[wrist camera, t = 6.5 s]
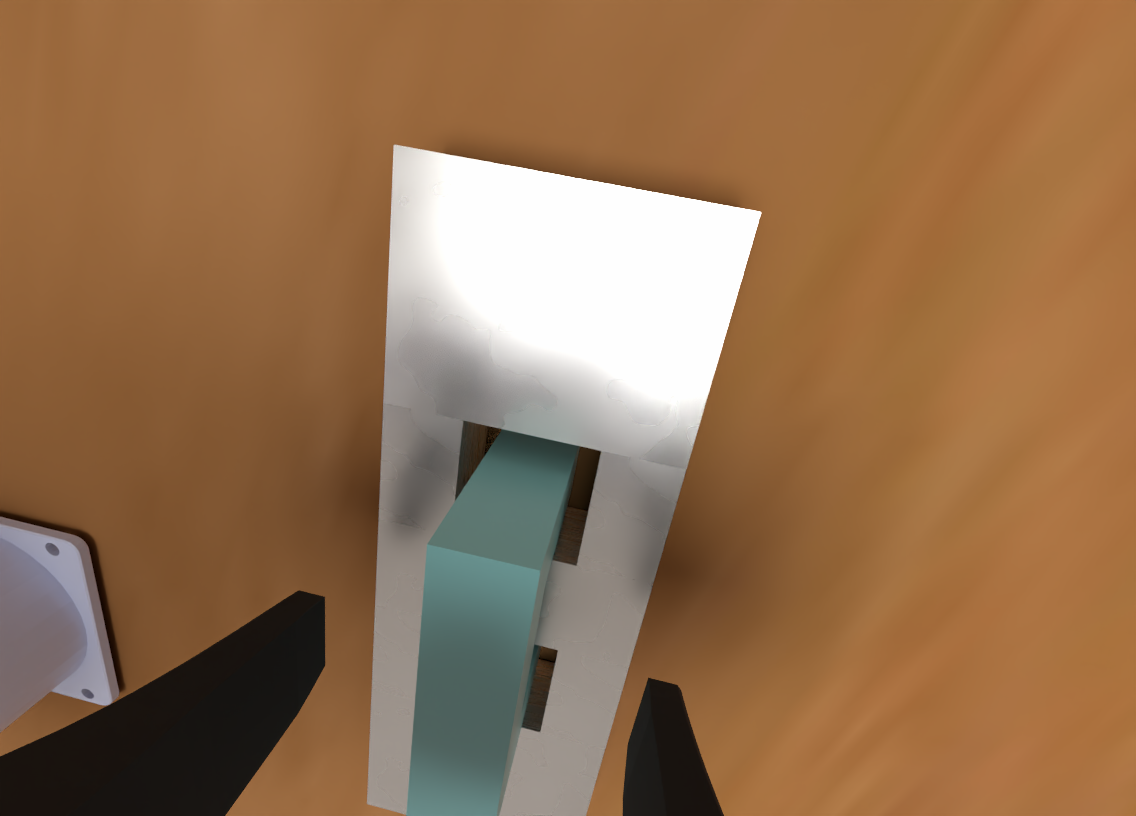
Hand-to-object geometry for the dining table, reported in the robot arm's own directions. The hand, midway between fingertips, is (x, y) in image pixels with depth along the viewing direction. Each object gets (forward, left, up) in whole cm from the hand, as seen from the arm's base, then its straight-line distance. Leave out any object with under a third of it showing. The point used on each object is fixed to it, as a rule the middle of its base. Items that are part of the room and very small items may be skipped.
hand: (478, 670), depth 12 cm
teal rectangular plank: (0, 0, -5) cm, 5 cm away
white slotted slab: (0, 0, -5) cm, 5 cm away
